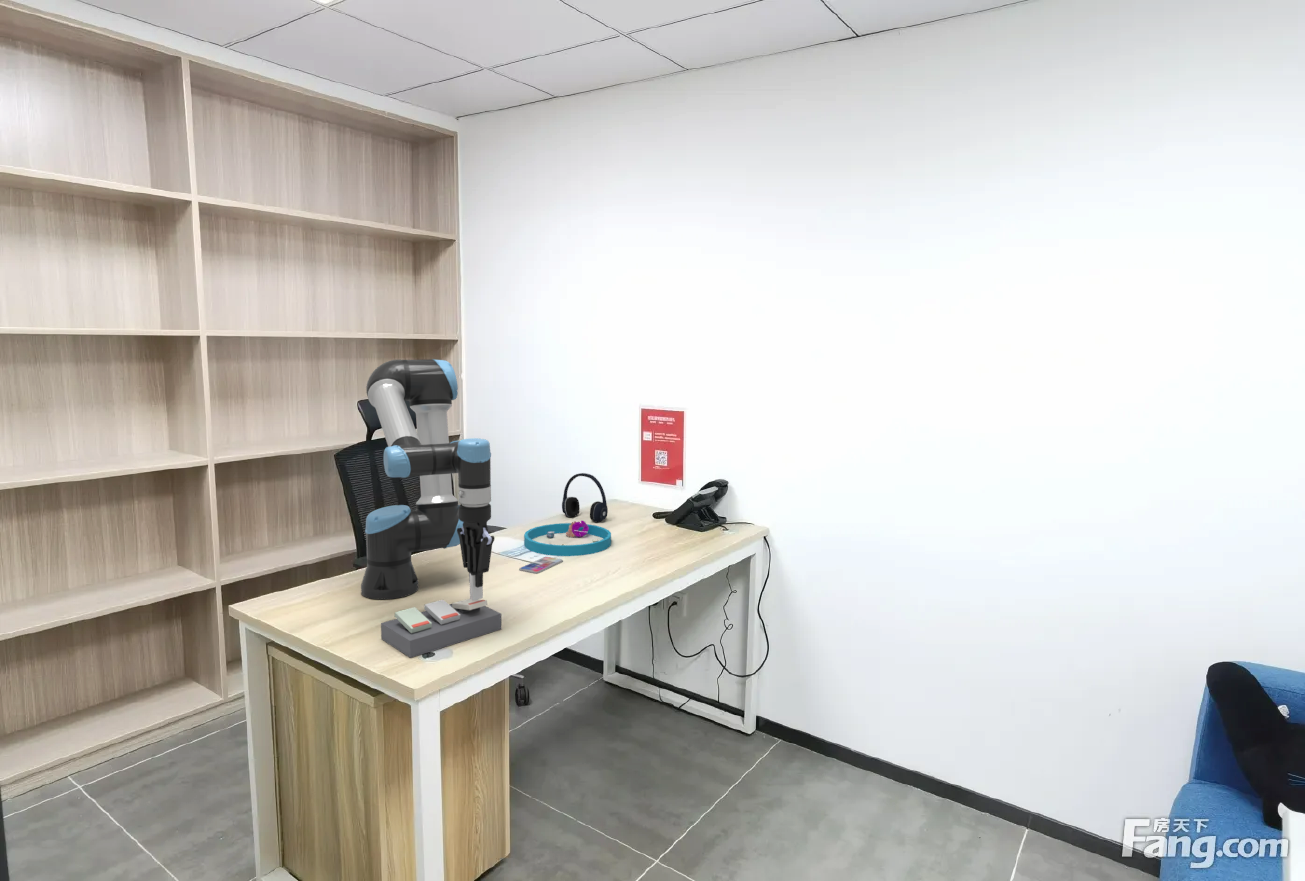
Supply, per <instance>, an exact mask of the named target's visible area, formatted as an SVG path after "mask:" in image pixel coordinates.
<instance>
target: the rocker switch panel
mask: <svg viewBox="0 0 1305 881" xmlns="http://www.w3.org/2000/svg"><path fill="white" fill-rule="evenodd" d="M448 604H449V605H450V606H451V607H452V603H448ZM452 608H453V607H452ZM453 609H455V610H456V611H457V612H458V613H459V614H460V619H459V620H455V621H452V622H449V623H445V624H442V625H441V624H440V623H439V622H438V621H437V620H436V619H435V618H433V617H432V616H431V615H430V614H429V613H428V612H427V611H426V610H423V611H420V612H421V613H422V614H423V615H424V616H425V617H426V618H427V619H428V620H429V621H430V622H431V623H432V626H431V628H428V629H425V630H421V631H418V632H414V633H410V632H409V631H408V630H407V629H406V628H405V627H404V626H403V625H402V624H401V623H400V622H399V621H398V620H397V619H396V618H394V619H390V620H386V621H384V622H381V623H380V634H381V635H380V637H381V638H380V640H382V641H383V642H385V643H387V645H390V646H392V648H394V649H396V650H398V651H399V652H400V653H403V655H405V656H406V657H408V658H411V659H412V658H414V657H418V656H421V655H424V654H427V653H430V652H434V651H436V650H441V649H444V648H447V647H449V646H453V645H455V644H459V643H462V642H465V641H468V640H472V639H474V638H477V637H478V638H479V637H481V636H483V635H487V634H490V633H493V632H496V631H500V630H502V613H501V612H499V611H497V610H495V609H493V608H491V607H488V605H486V606H483V607H479V608H476V609H472V610H464V609H456V608H453Z"/></svg>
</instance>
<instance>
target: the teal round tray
mask: <svg viewBox="0 0 1305 881" xmlns="http://www.w3.org/2000/svg"><path fill="white" fill-rule="evenodd" d="M557 534H565V535H566V537H568V538H582V537H584V536H586V535H590V536H595V537H598V538H601V539H600V540H599V539H596V538H594V539H592V540H591V541H592V542H589V543H581V544H571V545H570V544H551V543H546V542H539V541H536V540H534V539H536V538H540V537H544V536H547V538H548V539H553V537H554V536H555V535H557ZM523 544H524V545H523V546H524V548H525V549H527V550H528V551H530V552H533V553H536V554H539V555H545V556H554V557H577V556H580V557H581V556H587V555H593V554H596V553H601V552H603V551H605V550H607V549H609V548H610V547H611V545H612V532H611V531H610V530H609V529H607V528H605V527H603V526H598V525H595V524H588V523H587V522H586V521H584V520H580V521H577V520H575V521H572V522H565V523H550V524H544V525H538V526H535V527H533V528H529V529H528V530H526V531H524V535H523Z"/></svg>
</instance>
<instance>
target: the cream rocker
mask: <svg viewBox="0 0 1305 881" xmlns="http://www.w3.org/2000/svg"><path fill="white" fill-rule="evenodd" d="M451 604H452V607H453V608H456V609H464V610H472V609H476V608H479V607H483V606H488V600H487V599H478V600H474V601H473V600H471V599H470V597H469V598H467V599H462V600H459V601H456V602H452V603H451Z"/></svg>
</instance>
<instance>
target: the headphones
mask: <svg viewBox="0 0 1305 881" xmlns="http://www.w3.org/2000/svg"><path fill="white" fill-rule="evenodd" d="M577 477H585V478H588V479H590V480H592V482H594V483H595V485H596V486H597V487H598V489H599V492H600V495H601V499H602V501H599V500H598V501H595V502H593V503H592V504H591V505H590V509H589V519H590V521H592V522H594V523H600V522H602V521H605V520H606V519H607V517H608V511H609V510H608V503H607V498H606V494H605V490H604V488H603V486H602V484H601V482H600V481H599V479H598V478H596V476H594V475H593V474H590V473H586V472H581V473H576V474H574V475H572V476H571V477H570V478H569V480H568V481H567V483H566V484H565V487H564V490H563V497H562V502H561V510H562V513H563V514H564V515H565V517H568V518H573V517H577V516H578V515H579V513H580V510H581V509H580V501H579V499H578V498H577V497H575V496H568V490H569V488H570V484H571V483H572V482H573V481H574V480H575V479H576V478H577Z"/></svg>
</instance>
